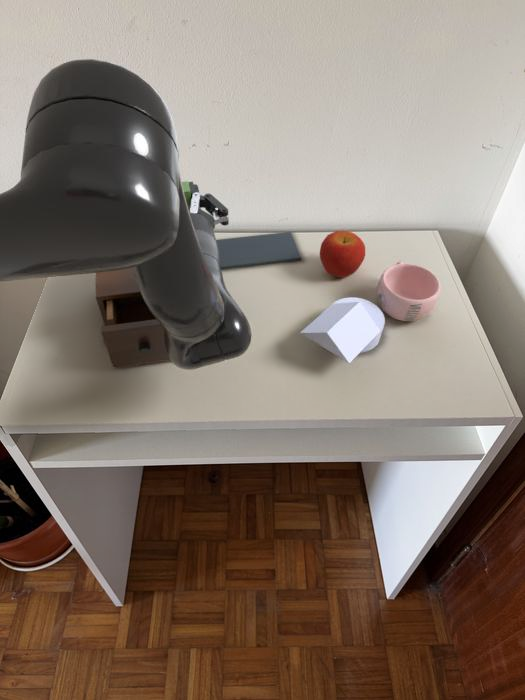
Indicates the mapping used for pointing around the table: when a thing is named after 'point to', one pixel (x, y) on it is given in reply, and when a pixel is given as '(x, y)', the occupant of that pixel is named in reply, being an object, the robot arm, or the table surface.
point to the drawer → (133, 333)
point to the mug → (408, 291)
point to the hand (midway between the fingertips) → (180, 187)
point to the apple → (342, 253)
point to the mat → (257, 250)
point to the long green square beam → (187, 192)
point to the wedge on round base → (347, 327)
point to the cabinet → (115, 288)
